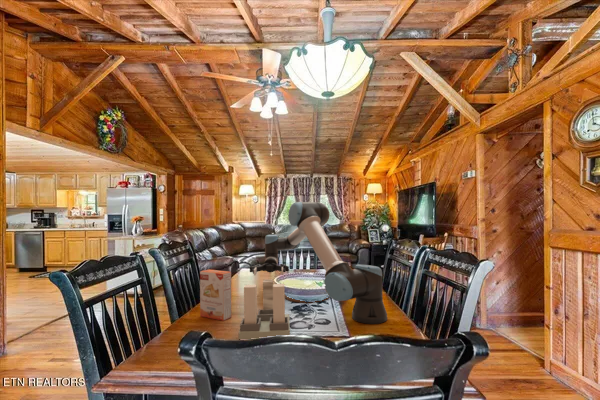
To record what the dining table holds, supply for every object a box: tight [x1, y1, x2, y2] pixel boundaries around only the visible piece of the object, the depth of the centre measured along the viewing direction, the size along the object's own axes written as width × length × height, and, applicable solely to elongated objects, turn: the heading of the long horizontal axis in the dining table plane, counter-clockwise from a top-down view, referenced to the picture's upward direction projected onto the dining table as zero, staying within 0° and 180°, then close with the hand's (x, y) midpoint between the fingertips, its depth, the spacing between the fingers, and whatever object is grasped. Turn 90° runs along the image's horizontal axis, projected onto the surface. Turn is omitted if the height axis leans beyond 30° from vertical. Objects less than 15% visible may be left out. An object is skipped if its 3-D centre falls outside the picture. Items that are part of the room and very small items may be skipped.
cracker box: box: [199, 269, 233, 322], centre depth 144 cm, size 14×6×21 cm, turn 62°
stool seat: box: [238, 283, 291, 340], centre depth 127 cm, size 19×19×19 cm
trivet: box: [285, 295, 330, 304], centre depth 176 cm, size 25×25×2 cm
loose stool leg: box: [262, 278, 274, 309], centre depth 145 cm, size 4×4×16 cm
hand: (268, 272), depth 155 cm, fingers open, 13 cm apart
